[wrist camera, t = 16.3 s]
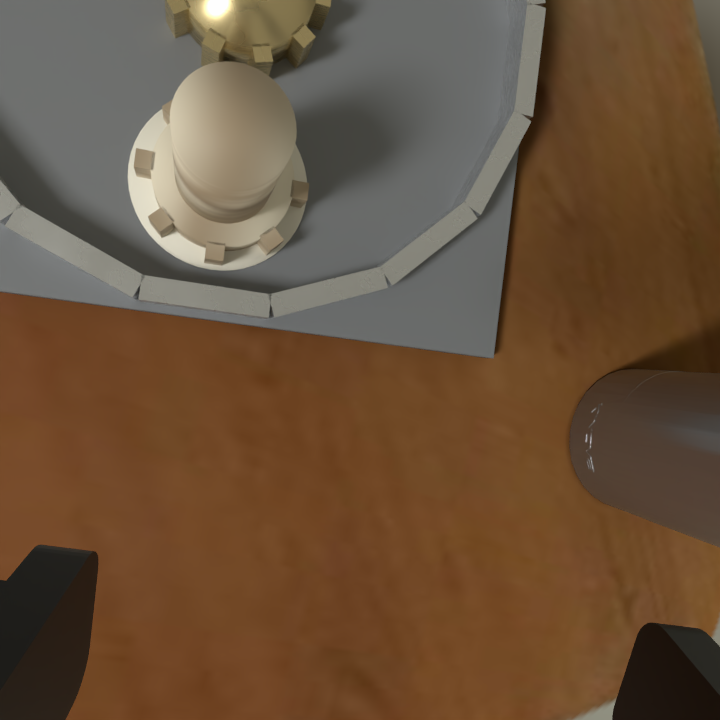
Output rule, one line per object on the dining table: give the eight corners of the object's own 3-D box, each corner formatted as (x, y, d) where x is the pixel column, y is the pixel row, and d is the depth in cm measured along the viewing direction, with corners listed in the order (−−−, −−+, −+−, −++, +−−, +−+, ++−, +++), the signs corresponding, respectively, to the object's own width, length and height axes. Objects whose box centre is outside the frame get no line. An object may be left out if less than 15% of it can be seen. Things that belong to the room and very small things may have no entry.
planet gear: (311, 122, 34) (354, 44, 25) (292, 277, 33) (328, 252, 25) (148, 85, 31) (132, -16, 23) (127, 250, 31) (102, 213, 23)
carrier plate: (551, -184, 38) (562, -201, 37) (485, 357, 38) (495, 358, 37) (-73, -439, 29) (-84, -471, 28) (-168, 268, 29) (-183, 265, 28)
